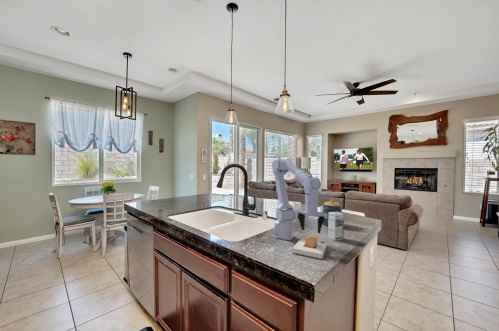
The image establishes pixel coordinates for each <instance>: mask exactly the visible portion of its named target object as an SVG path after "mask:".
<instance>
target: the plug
mask: <svg viewBox="0 0 499 331" xmlns="http://www.w3.org/2000/svg"><path fill="white" fill-rule="evenodd" d="M304 238H305V247H308V248H314V249H315V248H316V246H317V241H318V237H317V235H313V234H307V235H306V237H304Z"/></svg>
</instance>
